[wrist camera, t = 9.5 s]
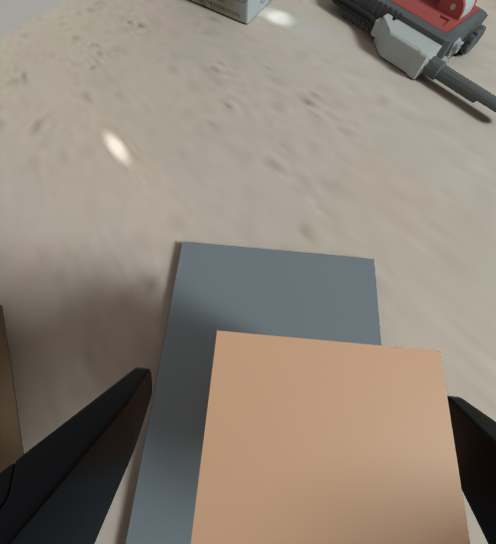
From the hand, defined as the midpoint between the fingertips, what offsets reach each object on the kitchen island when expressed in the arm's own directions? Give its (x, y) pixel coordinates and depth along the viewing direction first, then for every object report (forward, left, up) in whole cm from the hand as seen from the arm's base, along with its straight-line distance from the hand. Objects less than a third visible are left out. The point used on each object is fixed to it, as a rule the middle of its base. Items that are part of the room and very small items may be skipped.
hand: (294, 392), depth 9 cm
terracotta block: (-1, 0, -6) cm, 7 cm away
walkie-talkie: (+31, -9, -8) cm, 34 cm away
